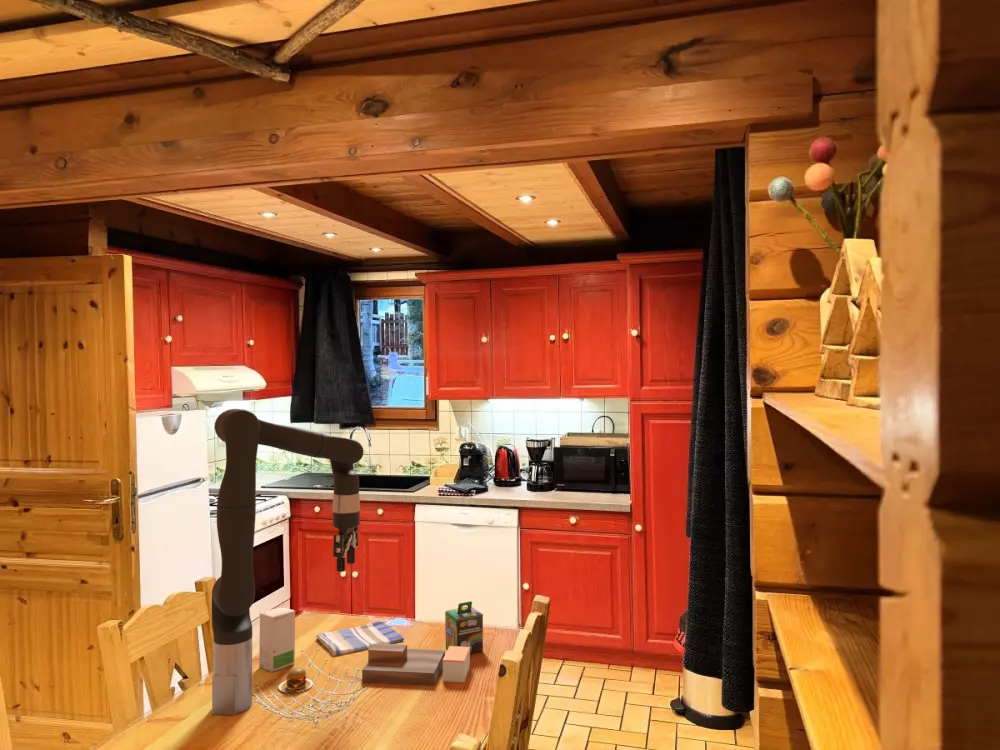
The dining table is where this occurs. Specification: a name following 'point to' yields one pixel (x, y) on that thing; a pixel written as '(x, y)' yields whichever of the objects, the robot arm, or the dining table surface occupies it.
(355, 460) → the robot arm
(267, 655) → the skincare box
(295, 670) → the hamburger
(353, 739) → the dining table surface
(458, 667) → the brick
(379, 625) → the dish towel
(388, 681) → the step stand
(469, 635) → the chalk box
